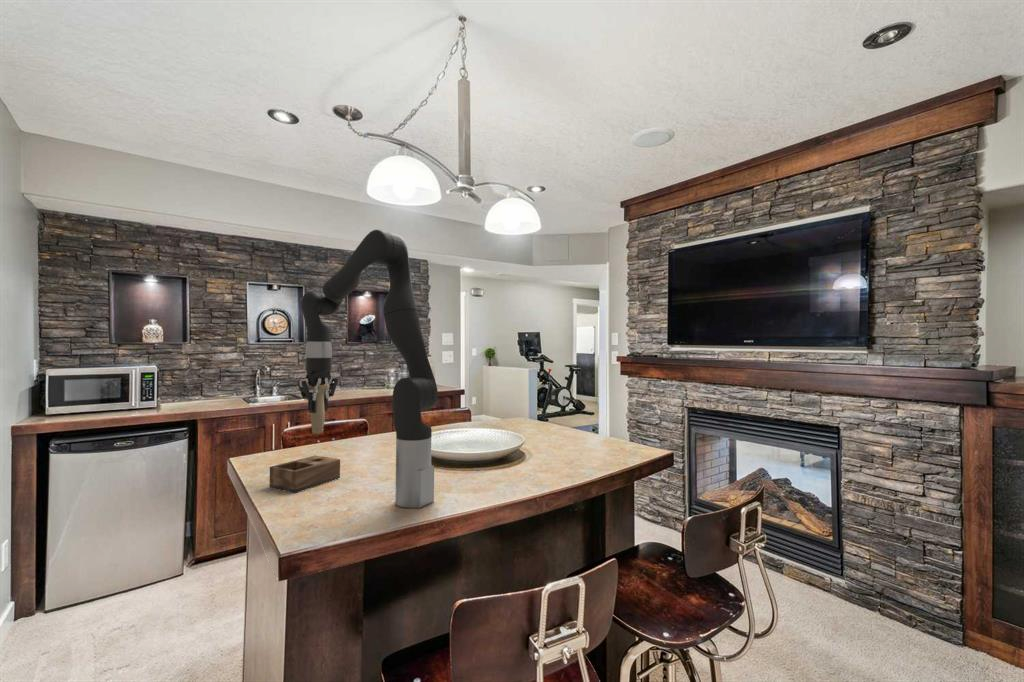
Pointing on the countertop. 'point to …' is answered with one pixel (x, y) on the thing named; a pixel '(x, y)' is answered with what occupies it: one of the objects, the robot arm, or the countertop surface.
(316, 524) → the countertop surface
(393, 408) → the robot arm
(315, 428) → the handle
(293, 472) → the socket block
